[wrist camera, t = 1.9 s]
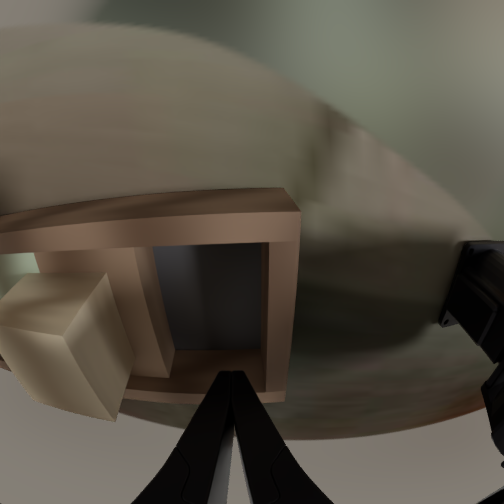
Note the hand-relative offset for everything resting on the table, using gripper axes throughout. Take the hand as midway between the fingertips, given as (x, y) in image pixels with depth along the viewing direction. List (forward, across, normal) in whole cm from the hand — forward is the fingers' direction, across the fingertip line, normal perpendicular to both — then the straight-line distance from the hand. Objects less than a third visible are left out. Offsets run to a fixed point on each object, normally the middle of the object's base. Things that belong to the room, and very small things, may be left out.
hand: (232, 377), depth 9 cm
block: (+3, +8, 0) cm, 8 cm away
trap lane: (+6, +9, 0) cm, 11 cm away
